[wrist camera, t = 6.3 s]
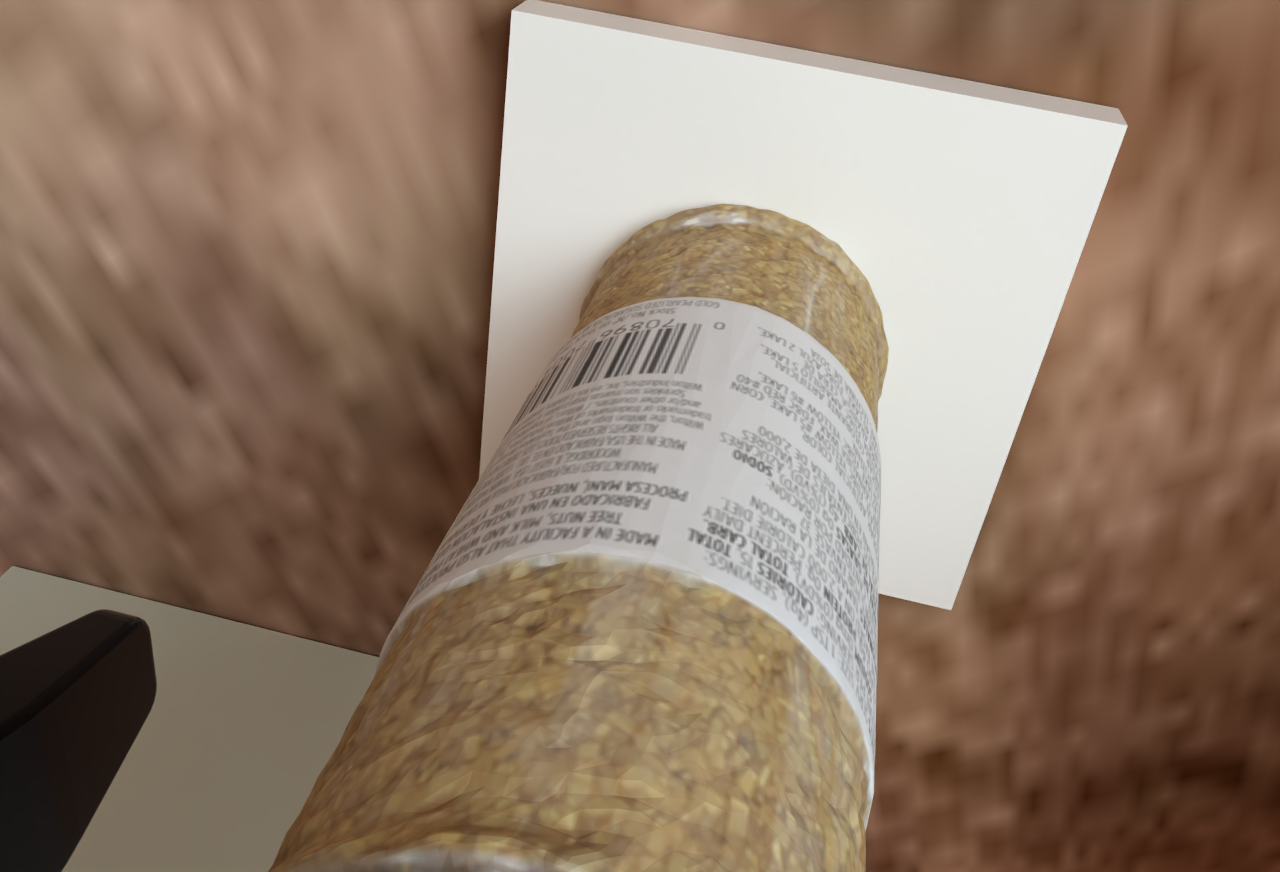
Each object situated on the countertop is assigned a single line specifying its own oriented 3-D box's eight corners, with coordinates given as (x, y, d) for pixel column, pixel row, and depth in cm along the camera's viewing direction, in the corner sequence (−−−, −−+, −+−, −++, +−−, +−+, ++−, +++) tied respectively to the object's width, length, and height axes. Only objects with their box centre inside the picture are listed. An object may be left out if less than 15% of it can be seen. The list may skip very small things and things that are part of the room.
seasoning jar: (624, 488, 19) (189, 1631, 7) (549, 219, 17) (-227, 1228, 5) (914, 457, 17) (941, 1791, 6) (871, 163, 15) (782, 1338, 4)
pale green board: (574, 705, 23) (371, 1275, 14) (563, 775, 24) (370, 1343, 15) (12, 565, 24) (-479, 1014, 15) (27, 637, 25) (-425, 1094, 16)
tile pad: (1118, 107, 15) (1127, 125, 14) (949, 579, 19) (950, 609, 19) (528, -2, 16) (511, 10, 15) (492, 474, 20) (477, 499, 19)
